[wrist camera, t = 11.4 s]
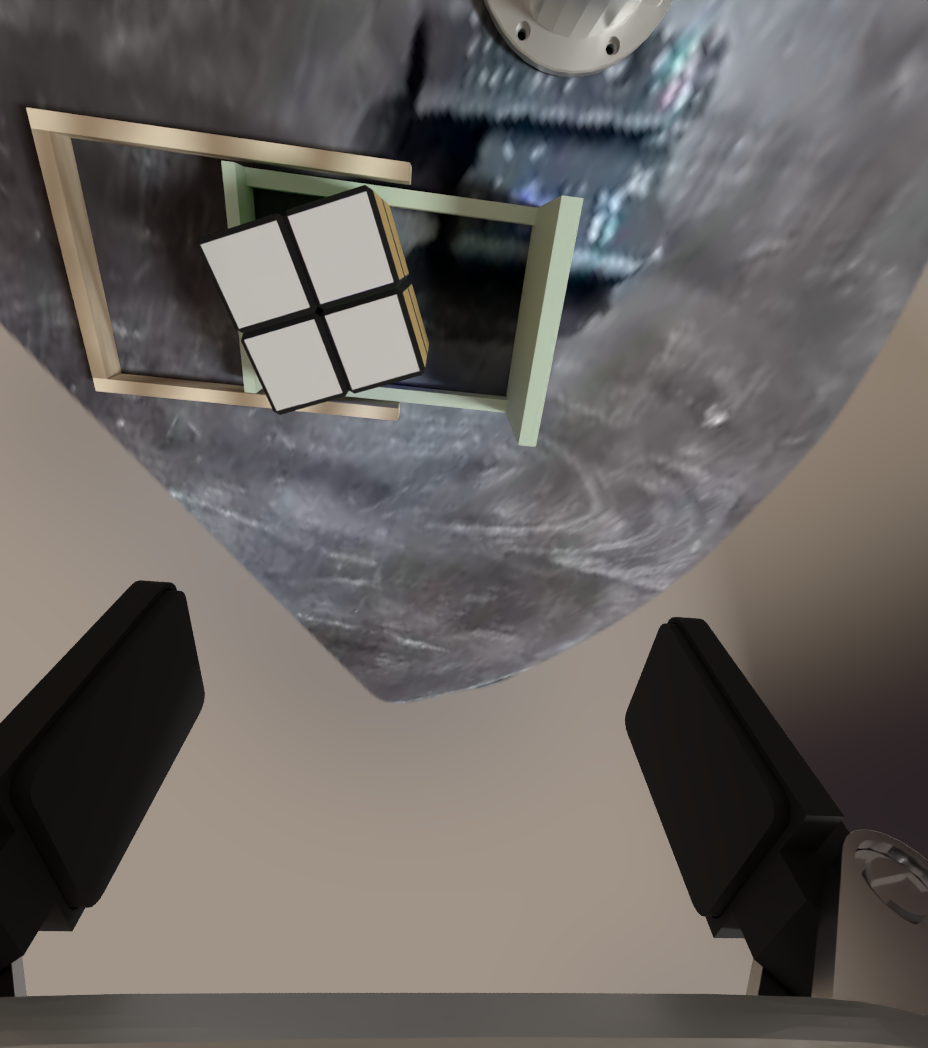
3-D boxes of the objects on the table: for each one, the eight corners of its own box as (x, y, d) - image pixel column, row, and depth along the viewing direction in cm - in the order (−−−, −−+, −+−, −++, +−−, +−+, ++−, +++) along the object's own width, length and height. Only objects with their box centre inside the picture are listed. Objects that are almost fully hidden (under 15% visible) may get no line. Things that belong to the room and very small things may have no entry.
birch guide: (411, 167, 33) (409, 162, 31) (399, 413, 41) (397, 420, 39) (49, 115, 31) (26, 107, 29) (111, 384, 39) (95, 391, 37)
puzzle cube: (311, 381, 39) (274, 417, 31) (254, 243, 35) (190, 239, 26) (430, 347, 38) (427, 374, 30) (388, 200, 34) (369, 181, 25)
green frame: (551, 211, 34) (583, 198, 26) (518, 409, 41) (535, 446, 33) (239, 168, 33) (173, 140, 25) (258, 383, 39) (211, 415, 31)
